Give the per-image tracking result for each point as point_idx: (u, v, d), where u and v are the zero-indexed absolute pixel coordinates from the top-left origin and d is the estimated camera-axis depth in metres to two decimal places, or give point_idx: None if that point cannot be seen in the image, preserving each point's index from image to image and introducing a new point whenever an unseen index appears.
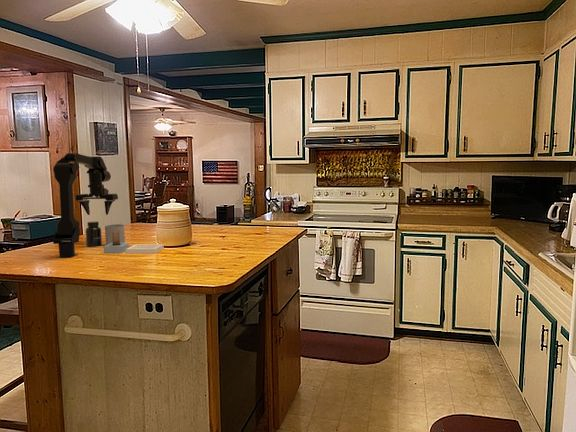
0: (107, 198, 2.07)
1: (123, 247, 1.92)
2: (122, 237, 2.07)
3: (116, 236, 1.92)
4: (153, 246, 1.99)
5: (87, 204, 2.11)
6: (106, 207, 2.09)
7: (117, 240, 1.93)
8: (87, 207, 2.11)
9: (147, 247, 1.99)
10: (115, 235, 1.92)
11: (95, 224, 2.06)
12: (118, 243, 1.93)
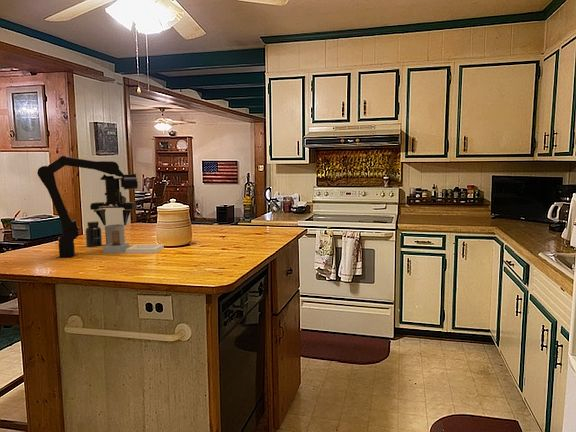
0: (126, 207, 1.88)
1: (123, 247, 1.92)
2: (122, 237, 2.07)
3: (116, 236, 1.92)
4: (153, 246, 1.99)
5: (103, 213, 1.93)
6: (124, 217, 1.90)
7: (117, 240, 1.93)
8: (103, 217, 1.92)
9: (147, 247, 1.99)
10: (115, 235, 1.92)
11: (95, 224, 2.06)
12: (118, 243, 1.93)
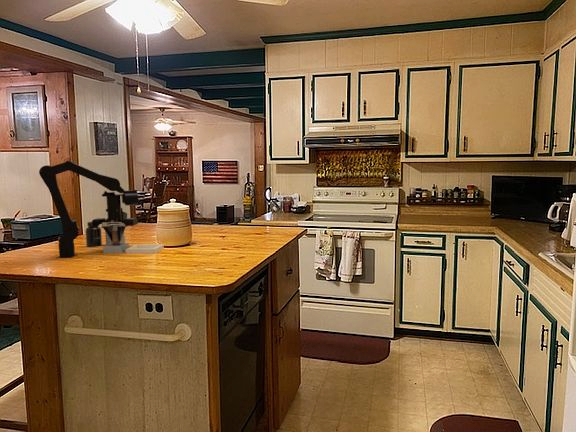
0: (127, 223, 1.89)
1: (123, 247, 1.92)
2: (122, 237, 2.07)
3: (116, 236, 1.92)
4: (153, 246, 1.99)
5: (111, 229, 1.93)
6: (119, 233, 1.91)
7: (117, 240, 1.93)
8: (111, 233, 1.93)
9: (147, 247, 1.99)
10: (115, 235, 1.92)
11: None
12: (118, 243, 1.93)
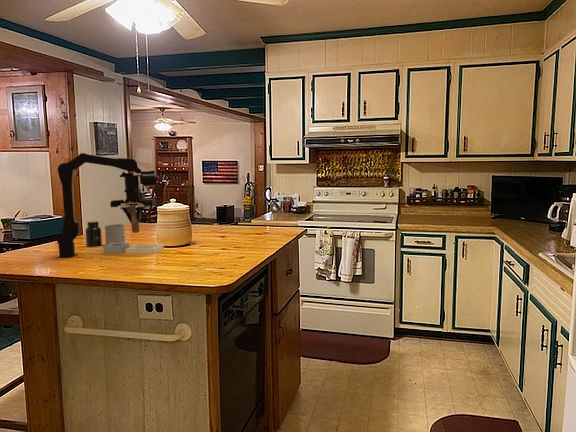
0: (146, 204, 1.89)
1: (123, 247, 1.92)
2: (122, 237, 2.07)
3: (135, 217, 1.91)
4: (153, 246, 1.99)
5: (129, 211, 1.93)
6: (138, 214, 1.91)
7: (136, 221, 1.92)
8: (130, 214, 1.92)
9: (147, 247, 1.99)
10: (134, 216, 1.91)
11: (95, 224, 2.06)
12: (137, 224, 1.92)
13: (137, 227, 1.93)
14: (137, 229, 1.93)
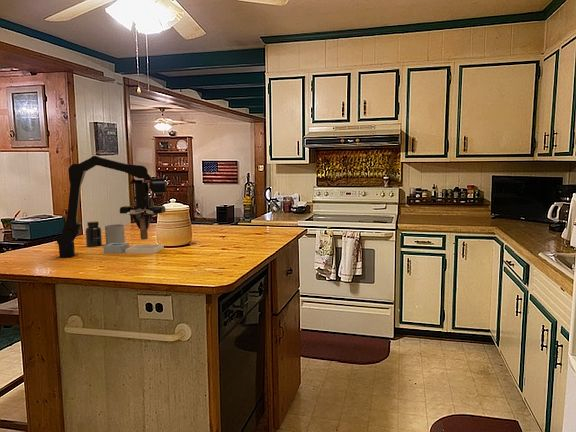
0: (155, 211, 1.89)
1: (123, 247, 1.92)
2: (122, 237, 2.07)
3: (144, 223, 1.92)
4: (153, 246, 1.99)
5: (138, 217, 1.93)
6: (147, 221, 1.91)
7: (145, 228, 1.92)
8: (138, 220, 1.92)
9: (147, 247, 1.99)
10: (143, 223, 1.91)
11: (95, 224, 2.06)
12: (146, 231, 1.93)
13: (146, 234, 1.93)
14: (145, 236, 1.93)
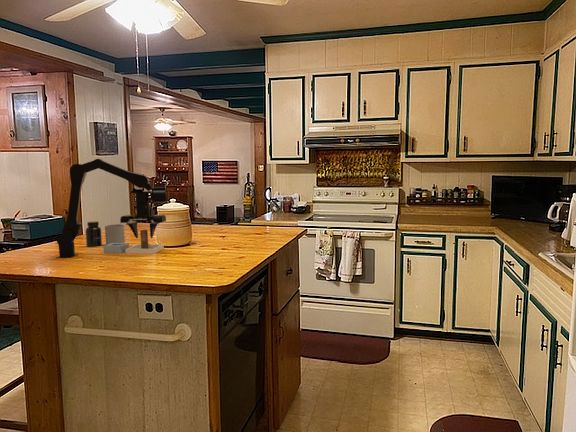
0: (155, 220, 1.89)
1: (123, 247, 1.92)
2: (122, 237, 2.07)
3: (145, 235, 1.92)
4: (153, 246, 1.99)
5: (135, 226, 1.93)
6: (151, 230, 1.91)
7: (145, 239, 1.93)
8: (135, 230, 1.93)
9: None
10: (143, 235, 1.92)
11: (95, 224, 2.05)
12: (146, 242, 1.93)
13: (146, 245, 1.93)
14: (146, 247, 1.93)
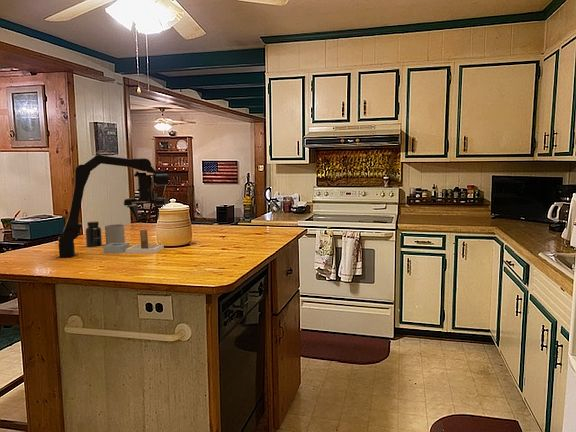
0: (158, 203, 1.94)
1: (123, 247, 1.92)
2: (122, 237, 2.07)
3: (144, 235, 1.92)
4: (153, 246, 1.99)
5: (136, 209, 1.99)
6: (156, 212, 1.96)
7: (145, 239, 1.93)
8: (136, 212, 1.99)
9: None
10: (143, 234, 1.92)
11: (95, 224, 2.06)
12: (146, 242, 1.93)
13: (146, 245, 1.93)
14: (146, 247, 1.93)
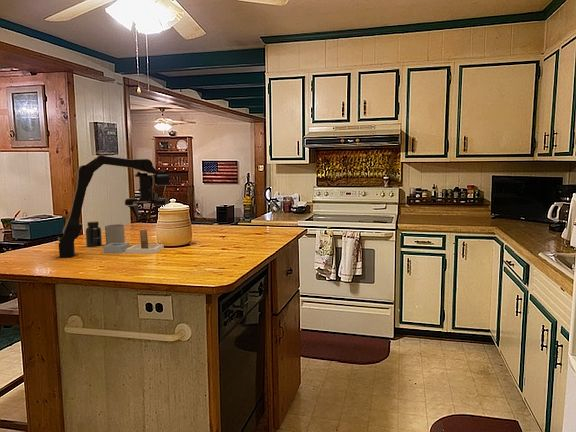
0: (159, 203, 1.97)
1: (123, 247, 1.92)
2: (122, 237, 2.07)
3: (144, 235, 1.92)
4: (153, 246, 1.99)
5: (137, 209, 2.02)
6: (157, 212, 1.99)
7: (145, 239, 1.93)
8: (137, 212, 2.01)
9: None
10: (143, 234, 1.92)
11: (95, 224, 2.05)
12: (146, 242, 1.93)
13: (146, 245, 1.93)
14: (146, 247, 1.93)
